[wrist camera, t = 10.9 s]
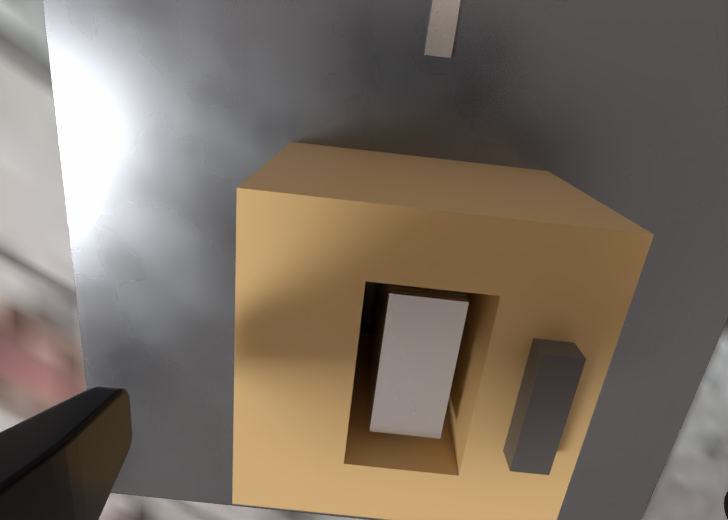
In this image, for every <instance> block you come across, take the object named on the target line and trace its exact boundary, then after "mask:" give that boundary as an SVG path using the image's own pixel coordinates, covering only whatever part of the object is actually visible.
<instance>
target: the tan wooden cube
mask: <svg viewBox="0 0 728 520" xmlns="http://www.w3.org/2000/svg"><path fill="white" fill-rule="evenodd" d="M653 236H654V234H652V233H651V232H649V231H647V230H646V229H644V228H642V227H641V226H639V225H637V224H636V223H634V222H632V221H631V220H629V219H627V218H626V217H624V216H622V215H621V214H619V213H617V212H616V211H614V210H612V209H611V208H609V207H607V206H606V205H604V204H602V203H601V202H599V201H597V200H596V199H594V198H592V197H591V196H589V195H587V194H586V193H584V192H582V191H581V190H579V189H577V188H576V187H574V186H572V185H571V184H569V183H567V182H566V181H564V180H562V179H561V178H559V177H557V176H556V175H554V174H552V173H551V172H549V171H543V170H535V169H526V168H517V167H508V166H499V165H491V164H482V163H473V162H464V161H455V160H447V159H438V158H429V157H420V156H411V155H403V154H394V153H385V152H376V151H367V150H359V149H350V148H341V147H332V146H323V145H315V144H306V143H297V142H290V143H289V144H288V145H286V146H285V147H284V148H283V149H282V150H281V151H279V152H278V153H277V154H276V155H275V156H274V157H272V158H271V159H270V160H269V161H268V162H267V163H265V164H264V165H263V166H262V167H261V168H259V169H258V170H257V171H256V172H255V173H254V174H252V175H251V176H250V177H249V178H248V179H247V180H245V181H244V182H243V183H242V184H241V185H240V186H238V187H237V206H236V277H235V348H234V420H233V491H232V504H239V505H249V506H259V507H269V508H279V509H289V510H299V511H308V512H318V513H328V514H338V515H348V516H358V517H368V518H378V519H387V520H557V517H558V515H559V512H560V509H561V506H562V503H563V500H564V497H565V494H566V491H567V488H568V485H569V482H570V479H571V476H572V473H573V471H574V468H575V465H576V462H577V459H578V456H579V453H580V450H581V447H582V444H583V441H584V438H585V435H586V432H587V430H588V427H589V424H590V421H591V418H592V415H593V412H594V409H595V406H596V403H597V400H598V397H599V394H600V391H601V388H602V386H603V383H604V380H605V377H606V374H607V371H608V368H609V365H610V362H611V359H612V356H613V353H614V350H615V347H616V345H617V342H618V339H619V336H620V333H621V330H622V327H623V324H624V321H625V318H626V315H627V312H628V309H629V306H630V303H631V301H632V298H633V295H634V292H635V289H636V286H637V283H638V280H639V277H640V274H641V271H642V268H643V265H644V262H645V260H646V257H647V254H648V251H649V248H650V245H651V242H652V239H653ZM366 281H367V282H377V283H386V284H395V285H404V286H413V287H422V288H431V289H441V290H450V291H459V292H465V293H466V296H467V298H468V301H469V305H468V310H467V314H466V319H465V324H464V329H463V333H462V338H461V343H460V348H459V352H458V357H457V362H456V367H455V371H454V376H453V381H452V386H451V390H450V395H449V400H448V404H447V409H446V414H445V419H444V423H443V428H442V433H441V438H440V439H438V438H429V437H420V436H410V435H401V434H391V433H382V432H373V431H370V383H371V334H369V333H360V324H361V316H362V307H363V299H364V291H365V282H366Z"/></svg>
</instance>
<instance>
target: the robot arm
mask: <svg viewBox="0 0 728 520" xmlns="http://www.w3.org/2000/svg"><path fill="white" fill-rule="evenodd" d="M131 442H132V422H131V408H130V397H129V393H128V391H127V390H126V389H124V388H121V387H112V386H102V385H100V386H95V387H92V388H90V389H88V390H86V391H84V392H82V393H80V394H78V395H76V396H74V397H72V398H70V399H68V400H66V401H64V402H61V403H59V404H57V405H55V406H53V407H51V408H49V409H47V410H45V411H43V412H41V413H39V414H37V415H35V416H33V417H31V418H29V419H27V420H25V421H23V422H21V423H19V424H17V425H15V426H13V427H11V428H8V429H6V430H4V431H2V432H0V520H99V517H100V515H101V513H102V511H103V508H104V506H105V504H106V502H107V499H108V497H109V495H110V493H111V490H112V488H113V486H114V484H115V481H116V479H117V477H118V475H119V472H120V470H121V468H122V466H123V463H124V461H125V459H126V457H127V454H128V452H129V449H130V446H131ZM724 509H725V514H726V516H727V519H728V492H727V494H726V496H725V499H724Z"/></svg>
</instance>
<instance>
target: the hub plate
mask: <svg viewBox="0 0 728 520" xmlns="http://www.w3.org/2000/svg"><path fill="white" fill-rule="evenodd" d="M43 5H44V14H45V23H46V32H47V41H48V50H49V58H50V67H51V76H52V85H53V94H54V103H55V111H56V120H57V129H58V138H59V147H60V156H61V164H62V173H63V182H64V191H65V200H66V209H67V218H68V226H69V235H70V244H71V253H72V262H73V271H74V279H75V288H76V297H77V306H78V315H79V324H80V332H81V341H82V350H83V359H84V368H85V377H86V385H87V390H88V389H90V388H92V387H95V386H100V385H102V386H112V387H121V388H124V389H126V390H127V391H128V393H129V397H130V408H131V422H132V442H131V446H130V449H129V452H128V454H127V457H126V459H125V461H124V463H123V466H122V468H121V470H120V472H119V475H118V477H117V479H116V481H115V484H114V486H113V488H112V490H111V493H117V494H127V495H137V496H146V497H156V498H166V499H175V500H185V501H195V502H204V503H214V504H223V505H233V506H243V507H252V508H262V509H272V510H281V511H291V512H301V513H310V514H320V515H330V516H339V517H349V518H359V519H368V520H387V519H378V518H368V517H358V516H348V515H338V514H328V513H318V512H308V511H299V510H289V509H279V508H269V507H259V506H249V505H239V504H232V491H233V420H234V348H235V277H236V206H237V187H238V186H240V185H241V184H242V183H243V182H244V181H245V180H247V179H248V178H249V177H250V176H251V175H252V174H254V173H255V172H256V171H257V170H258V169H259V168H261V167H262V166H263V165H264V164H265V163H267V162H268V161H269V160H270V159H271V158H272V157H274V156H275V155H276V154H277V153H278V152H279V151H281V150H282V149H283V148H284V147H285V146H286V145H288V144H289V143H290V142H297V143H306V144H315V145H323V146H332V147H341V148H350V149H359V150H367V151H376V152H385V153H394V154H403V155H411V156H420V157H429V158H438V159H447V160H455V161H464V162H473V163H482V164H491V165H499V166H508V167H517V168H526V169H535V170H543V171H549V172H551V173H552V174H554V175H556V176H557V177H559V178H561V179H562V180H564V181H566V182H567V183H569V184H571V185H572V186H574V187H576V188H577V189H579V190H581V191H582V192H584V193H586V194H587V195H589V196H591V197H592V198H594V199H596V200H597V201H599V202H601V203H602V204H604V205H606V206H607V207H609V208H611V209H612V210H614V211H616V212H617V213H619V214H621V215H622V216H624V217H626V218H627V219H629V220H631V221H632V222H634V223H636V224H637V225H639V226H641V227H642V228H644V229H646V230H647V231H649V232H651V233H652V234H654V236H653V239H652V242H651V245H650V248H649V251H648V254H647V257H646V260H645V262H644V265H643V268H642V271H641V274H640V277H639V280H638V283H637V286H636V289H635V292H634V295H633V298H632V301H631V303H630V306H629V309H628V312H627V315H626V318H625V321H624V324H623V327H622V330H621V333H620V336H619V339H618V342H617V345H616V347H615V350H614V353H613V356H612V359H611V362H610V365H609V368H608V371H607V374H606V377H605V380H604V383H603V386H602V388H601V391H600V394H599V397H598V400H597V403H596V406H595V409H594V412H593V415H592V418H591V421H590V424H589V427H588V430H587V432H586V435H585V438H584V441H583V444H582V447H581V450H580V453H579V456H578V459H577V462H576V465H575V468H574V471H573V473H572V476H571V479H570V482H569V485H568V488H567V491H566V494H565V497H564V500H563V503H562V506H561V509H560V512H559V515H558V517H557V520H641V518H642V516H643V514H644V511H645V509H646V507H647V504H648V502H649V500H650V497H651V495H652V493H653V490H654V488H655V486H656V483H657V481H658V479H659V476H660V474H661V472H662V469H663V467H664V465H665V462H666V460H667V458H668V455H669V453H670V451H671V449H672V446H673V444H674V442H675V439H676V437H677V435H678V432H679V430H680V428H681V425H682V423H683V421H684V418H685V416H686V414H687V411H688V409H689V407H690V404H691V402H692V400H693V397H694V395H695V393H696V390H697V388H698V386H699V383H700V381H701V379H702V377H703V374H704V372H705V370H706V367H707V365H708V363H709V360H710V358H711V356H712V353H713V351H714V349H715V346H716V344H717V342H718V339H719V337H720V335H721V332H722V330H723V328H724V325H725V323H726V321H727V318H728V0H43ZM468 305H469V301H468V298H467V296H466V293H465V292H459V291H450V290H441V289H431V288H422V287H413V286H404V285H395V284H386V283H377V282H367V281H366V282H365V291H364V299H363V307H362V316H361V324H360V333H369V334H371V383H370V431H373V432H382V433H391V434H401V435H410V436H420V437H429V438H438V439H440V438H441V433H442V428H443V423H444V419H445V414H446V409H447V404H448V400H449V395H450V390H451V386H452V381H453V376H454V371H455V367H456V362H457V357H458V352H459V348H460V343H461V338H462V333H463V329H464V324H465V319H466V314H467V310H468Z"/></svg>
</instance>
